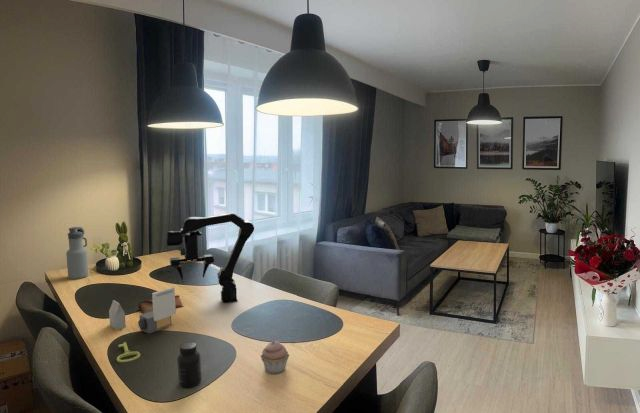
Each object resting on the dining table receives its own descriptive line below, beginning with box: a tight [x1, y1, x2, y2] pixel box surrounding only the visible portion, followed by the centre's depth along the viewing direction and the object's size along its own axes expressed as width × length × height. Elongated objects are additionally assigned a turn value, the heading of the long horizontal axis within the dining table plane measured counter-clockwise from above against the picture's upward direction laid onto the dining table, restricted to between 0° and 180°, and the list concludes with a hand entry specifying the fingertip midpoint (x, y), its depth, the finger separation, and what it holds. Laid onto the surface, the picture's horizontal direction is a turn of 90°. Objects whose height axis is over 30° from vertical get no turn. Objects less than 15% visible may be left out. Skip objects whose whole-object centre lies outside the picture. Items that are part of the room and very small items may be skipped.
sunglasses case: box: [138, 294, 185, 314], centre depth 184 cm, size 18×7×7 cm, turn 125°
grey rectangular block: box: [137, 311, 173, 334], centre depth 163 cm, size 11×6×6 cm, turn 144°
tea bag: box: [108, 299, 127, 331], centre depth 164 cm, size 4×7×10 cm, turn 46°
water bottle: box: [66, 226, 89, 280], centre depth 227 cm, size 10×10×28 cm
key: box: [116, 341, 141, 363], centre depth 142 cm, size 7×12×2 cm, turn 51°
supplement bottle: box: [176, 341, 203, 389], centre depth 124 cm, size 7×7×12 cm
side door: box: [151, 286, 177, 321], centre depth 161 cm, size 9×2×11 cm, turn 144°
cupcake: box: [260, 339, 290, 375], centre depth 132 cm, size 9×9×10 cm
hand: (192, 278), depth 187 cm, fingers open, 9 cm apart
